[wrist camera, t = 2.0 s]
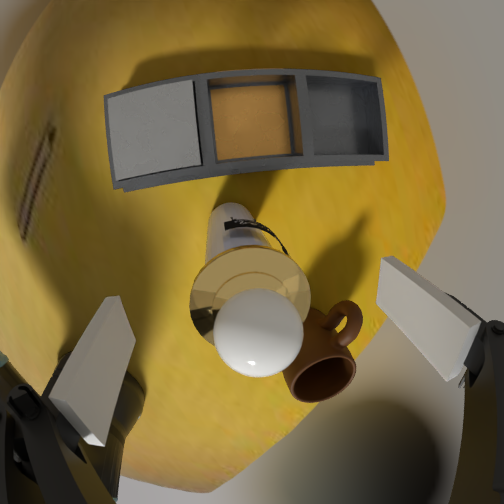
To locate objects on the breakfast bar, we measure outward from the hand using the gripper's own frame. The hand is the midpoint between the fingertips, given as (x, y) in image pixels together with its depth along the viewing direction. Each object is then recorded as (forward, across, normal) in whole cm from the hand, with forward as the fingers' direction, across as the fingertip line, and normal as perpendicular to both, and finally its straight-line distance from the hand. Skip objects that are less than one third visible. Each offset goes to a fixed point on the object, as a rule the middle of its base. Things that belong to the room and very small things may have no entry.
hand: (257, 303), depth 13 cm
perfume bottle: (+16, 0, 0) cm, 16 cm away
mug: (+16, +8, -13) cm, 22 cm away
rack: (+16, +2, +10) cm, 19 cm away
